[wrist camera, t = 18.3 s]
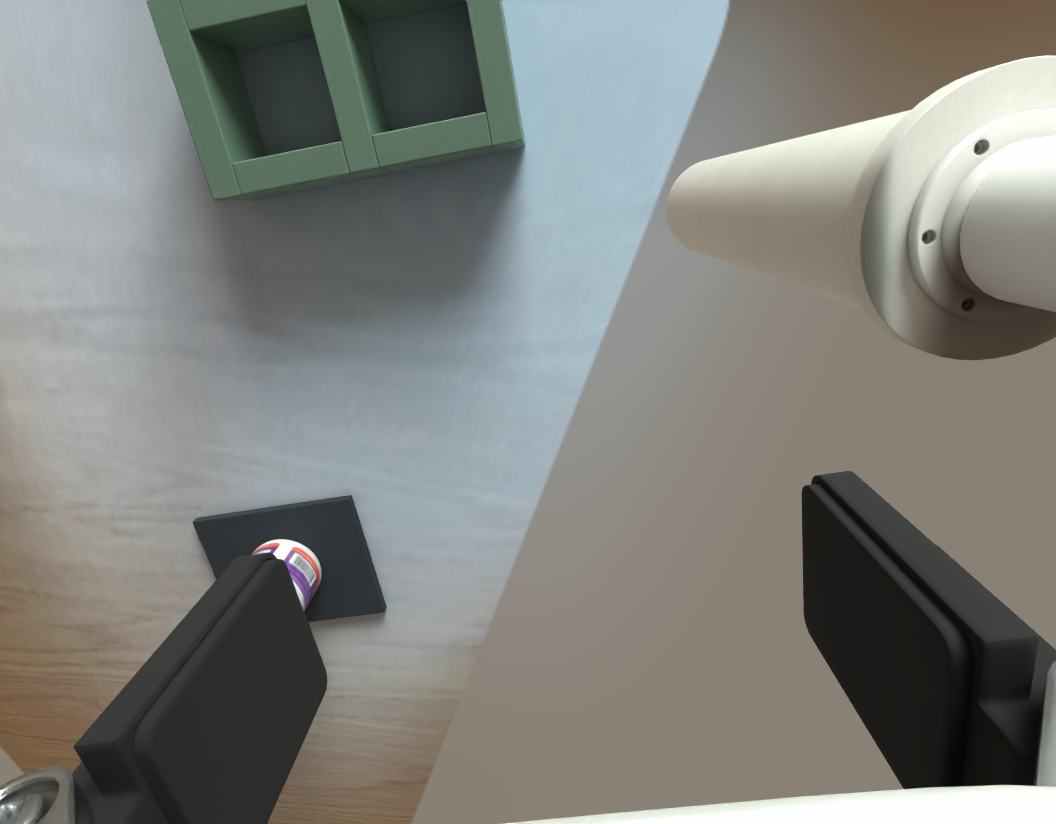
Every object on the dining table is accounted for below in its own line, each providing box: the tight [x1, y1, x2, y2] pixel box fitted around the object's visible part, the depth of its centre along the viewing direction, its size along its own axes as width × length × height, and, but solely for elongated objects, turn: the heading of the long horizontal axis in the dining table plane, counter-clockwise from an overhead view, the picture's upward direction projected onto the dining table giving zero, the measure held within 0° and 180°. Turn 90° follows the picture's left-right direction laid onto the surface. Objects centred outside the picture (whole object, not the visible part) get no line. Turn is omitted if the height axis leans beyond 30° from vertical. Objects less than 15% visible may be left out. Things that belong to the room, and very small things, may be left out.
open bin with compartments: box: [147, 0, 525, 200], centre depth 31 cm, size 17×9×4 cm, turn 100°
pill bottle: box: [251, 539, 322, 611], centre depth 39 cm, size 5×5×10 cm
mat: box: [193, 495, 386, 622], centre depth 44 cm, size 12×10×1 cm
